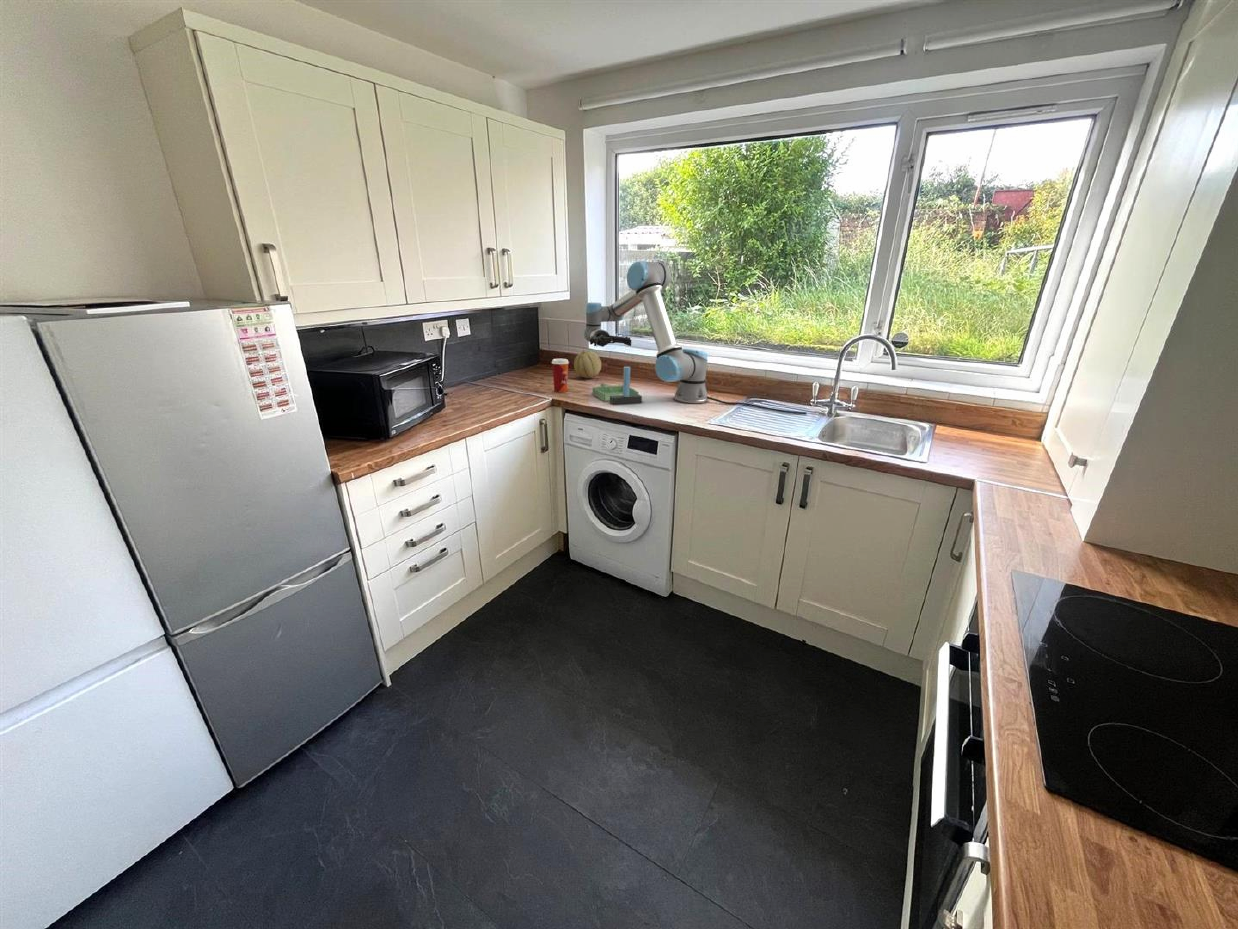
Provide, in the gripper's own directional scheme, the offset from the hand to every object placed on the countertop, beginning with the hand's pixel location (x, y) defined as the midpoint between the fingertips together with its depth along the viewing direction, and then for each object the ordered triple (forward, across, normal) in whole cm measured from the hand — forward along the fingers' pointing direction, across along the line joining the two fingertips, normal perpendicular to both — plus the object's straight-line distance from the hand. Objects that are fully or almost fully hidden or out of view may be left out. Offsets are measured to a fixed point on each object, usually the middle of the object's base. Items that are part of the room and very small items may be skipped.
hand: (616, 343), depth 225 cm
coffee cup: (-18, +22, -25) cm, 37 cm away
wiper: (+12, 0, -25) cm, 27 cm away
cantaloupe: (-43, -1, -24) cm, 49 cm away
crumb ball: (+8, 0, -23) cm, 24 cm away
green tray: (-5, 0, -25) cm, 25 cm away
